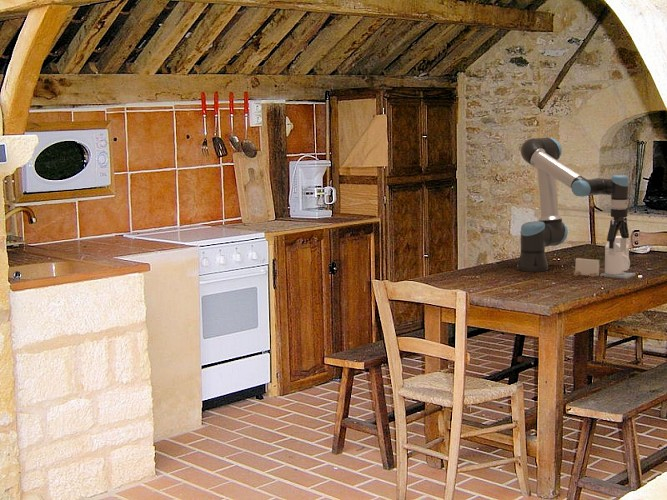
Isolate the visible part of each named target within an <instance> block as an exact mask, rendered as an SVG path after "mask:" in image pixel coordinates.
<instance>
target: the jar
mask: <svg viewBox="0 0 667 500" xmlns="http://www.w3.org/2000/svg"><path fill="white" fill-rule="evenodd" d="M621 238H622V237H621V235H616V238H615V241H614V242H615V250H620V239H621ZM606 250H609V241H607V243H606V244H605V246H604V252H605V251H606ZM624 255H626V256H627V257H628V258H629V259H630V245H629V244H628V242H627V243H626V252H624ZM628 266H629V261H628V260H627V259H625V258H624V268H627V267H628Z"/></svg>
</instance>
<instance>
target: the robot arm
mask: <svg viewBox="0 0 667 500" xmlns="http://www.w3.org/2000/svg"><path fill="white" fill-rule="evenodd" d="M520 155H521V157H522V159H523V160H524V161H525V162H526V163H528V164H529V165H530V166H532V167H535V168H536V169H537V178H538V181H537V182H538V193H539V206H540V207H539V208H540V217H539V218H538V219H537V221H536V220H535V221H528V222H525V223H522V225H521V226H520V234H519V235H520V255H519V258H518V260H517V264H516V269H517V271H520V272H521V271H522V272H544V271H548V270H549V264H548V260H547V257H546V255H545V254H546V252H545V251H546V250H545V249H546V247H556V246H559V245H562V244H563V243H564V242H565V241H566V240H567V238H568V234H569V233H568V231H569V230H568V227H567V225H566V224H565V223H564V222H563V218H562V217H561V216H560V214H559V206H558V205H559V204H558V192H557V191H558V190H557V181H559V182H560V183H562V184H564V185H565V186H566V187H568V188H569V189H571V191H572V193H573V195H574V196H576V197H588V196H589V197H590V196H600V195H601V196H602V195H604V196H605V195H607V196H610V208H611V209H610V217H612V218H613V219H610V224H609V228H608V233H607V236H606V237H607V238H606V241H607V242H609V255H612V256H615V242H614V241H615V238H616V236H618V233H620V236H621V237H622V238H621V239H620V250H623V251H624V252H626V243H627V244H628V241H627V240H628V239H629V238H630V236H629V235H630V233H629V228H628V221H627V220H628V204H629V197H628V196H629V176H628V175H624V174H614V175H612V177H611V178H601V177H594V178H590V179H589V178H588V179H587V178H586V177H584V176H582V175H581V174H579V173H577V172H576V171H575V170H573V169H571V168H570V167H568V166H567V165H565V164H564V163H562V162H560V161H559V159H560V157H561V156H562V146H561V144H560V142H559V141H558V140H557V139H555V138H552V137H537V138H535V137H534V138H528V139H526V140H525V141H524V142H523V143H522V145H521V147H520ZM618 231H619V232H618Z"/></svg>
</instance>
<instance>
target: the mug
mask: <svg viewBox="0 0 667 500" xmlns="http://www.w3.org/2000/svg"><path fill="white" fill-rule="evenodd" d="M624 258H625V259H627V260H628V261H629V266H628V267H627V268H624ZM630 267H631V261H630V257H629V258H628V257H627V256H626V255H624V251H623V250H615V256H612V255H609V250H606V251H605V250H604V273H606V274H611V275H620V274H623V273H624V272H627V271H629V269H630Z"/></svg>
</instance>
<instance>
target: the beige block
mask: <svg viewBox="0 0 667 500" xmlns="http://www.w3.org/2000/svg"><path fill="white" fill-rule="evenodd" d="M588 275H589V277H591V278H595V277H600V259H591V258H579V257H577V258H575V271H574V272H573V276H575V277H577V276H588Z"/></svg>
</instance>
